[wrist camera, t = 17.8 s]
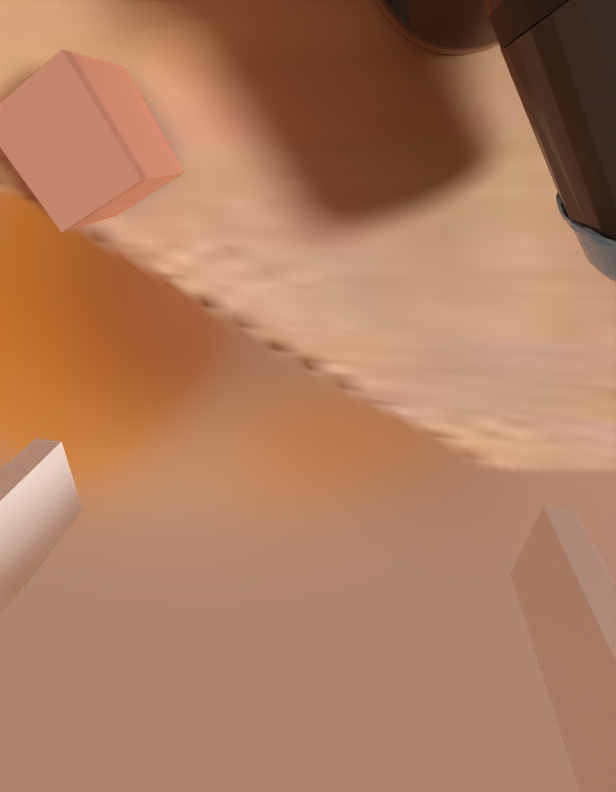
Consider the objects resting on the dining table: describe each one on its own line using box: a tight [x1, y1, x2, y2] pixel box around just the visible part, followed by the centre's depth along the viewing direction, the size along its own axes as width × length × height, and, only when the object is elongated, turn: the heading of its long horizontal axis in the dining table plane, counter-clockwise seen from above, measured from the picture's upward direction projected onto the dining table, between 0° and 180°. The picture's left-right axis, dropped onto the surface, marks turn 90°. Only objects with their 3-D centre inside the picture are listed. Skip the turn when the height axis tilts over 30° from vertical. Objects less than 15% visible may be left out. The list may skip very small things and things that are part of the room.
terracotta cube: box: [0, 50, 184, 232], centre depth 32 cm, size 8×8×8 cm
